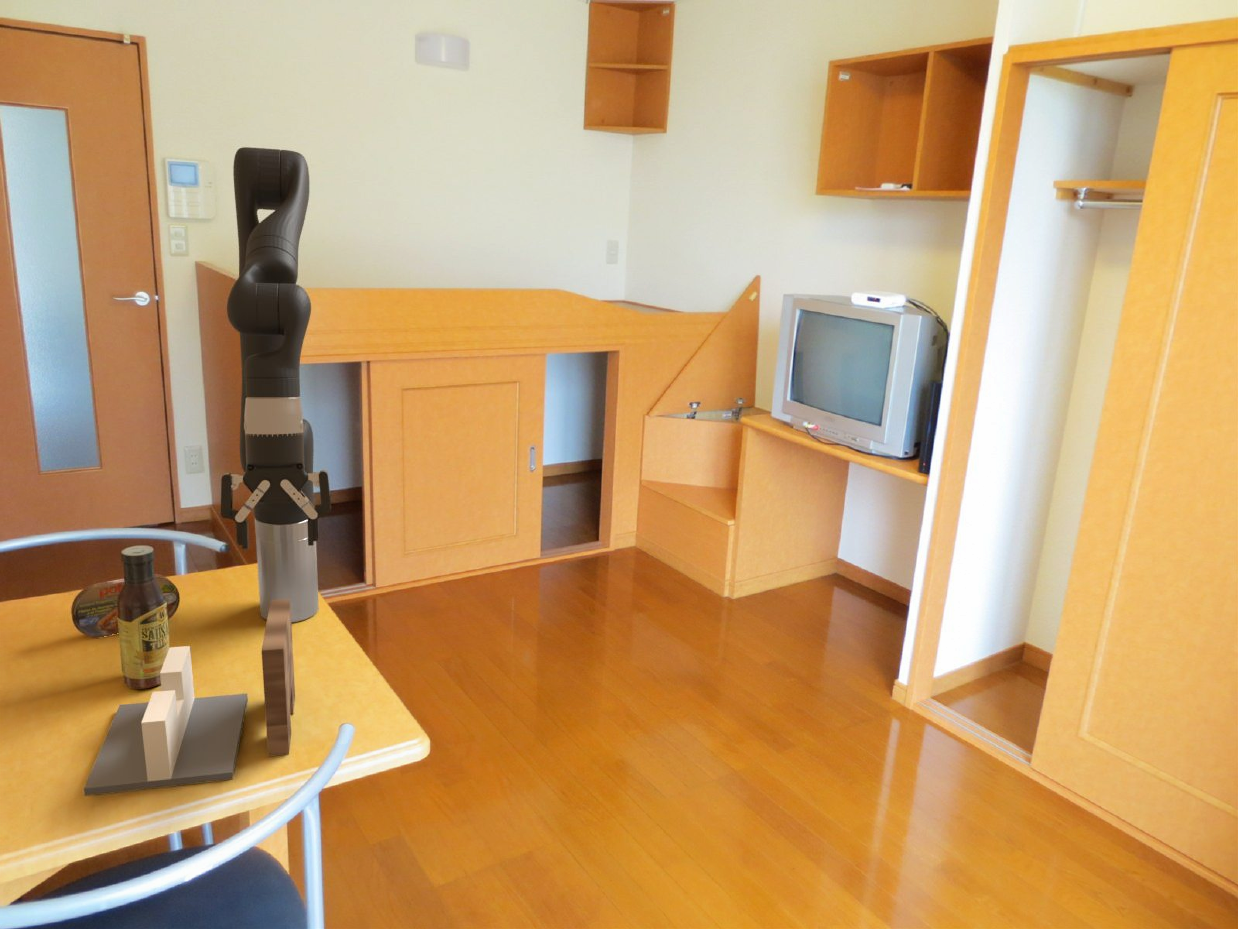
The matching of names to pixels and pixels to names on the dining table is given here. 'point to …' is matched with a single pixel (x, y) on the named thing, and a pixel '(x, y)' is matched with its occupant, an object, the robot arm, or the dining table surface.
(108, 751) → the slotted stand
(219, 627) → the dining table surface
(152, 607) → the sauce bottle
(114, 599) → the tin
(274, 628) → the walnut plate
